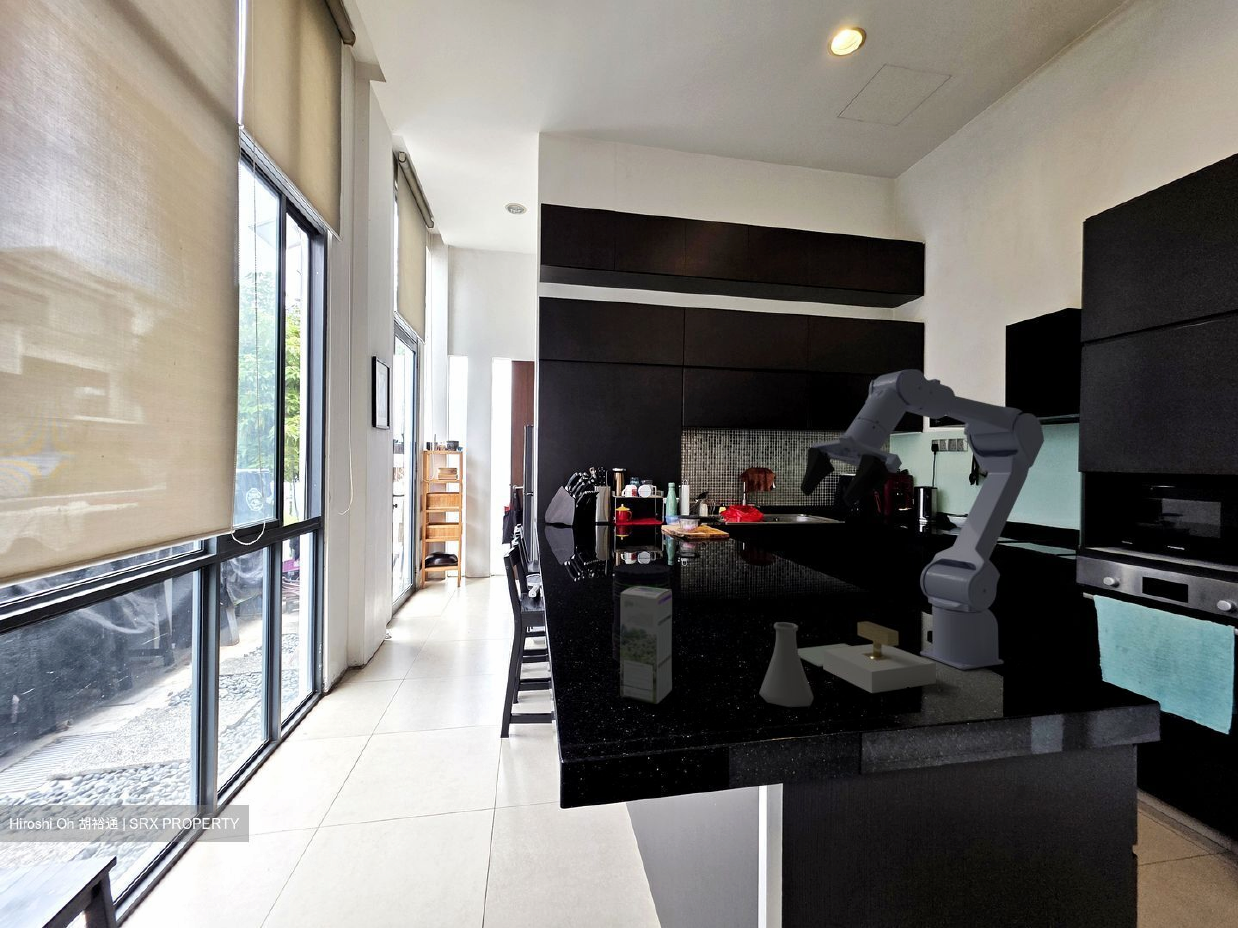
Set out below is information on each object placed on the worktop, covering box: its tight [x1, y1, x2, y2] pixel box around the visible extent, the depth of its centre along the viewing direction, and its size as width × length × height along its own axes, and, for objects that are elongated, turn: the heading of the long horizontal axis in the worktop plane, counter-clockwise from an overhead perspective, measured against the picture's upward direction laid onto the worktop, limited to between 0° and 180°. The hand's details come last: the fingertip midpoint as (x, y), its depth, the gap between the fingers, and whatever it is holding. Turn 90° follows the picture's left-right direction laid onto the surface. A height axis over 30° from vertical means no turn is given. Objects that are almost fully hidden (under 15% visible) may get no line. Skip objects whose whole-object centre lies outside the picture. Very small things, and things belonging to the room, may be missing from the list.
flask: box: [758, 621, 814, 708], centre depth 73 cm, size 7×7×10 cm
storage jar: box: [611, 562, 671, 663], centre depth 90 cm, size 10×10×15 cm
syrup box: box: [619, 586, 673, 705], centre depth 74 cm, size 6×6×14 cm
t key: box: [857, 621, 899, 661], centre depth 81 cm, size 6×2×8 cm, turn 19°
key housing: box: [822, 643, 937, 694], centre depth 81 cm, size 12×10×3 cm
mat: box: [797, 643, 852, 667], centre depth 90 cm, size 12×8×1 cm, turn 109°
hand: (824, 497), depth 80 cm, fingers open, 7 cm apart
